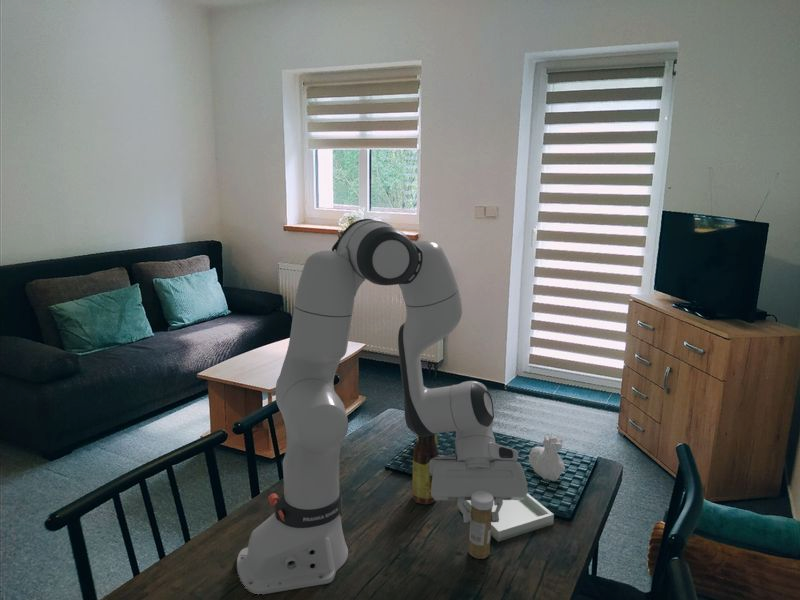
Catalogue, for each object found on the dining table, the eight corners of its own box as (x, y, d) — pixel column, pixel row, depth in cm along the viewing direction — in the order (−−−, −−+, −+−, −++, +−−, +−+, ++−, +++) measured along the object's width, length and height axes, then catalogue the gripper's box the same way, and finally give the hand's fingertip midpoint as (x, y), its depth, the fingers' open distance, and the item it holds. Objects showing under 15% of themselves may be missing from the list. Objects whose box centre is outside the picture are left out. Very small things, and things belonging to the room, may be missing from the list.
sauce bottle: (433, 508, 141) (435, 430, 136) (408, 502, 143) (409, 426, 138) (440, 493, 147) (443, 419, 142) (416, 488, 149) (418, 415, 144)
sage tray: (498, 541, 129) (498, 531, 128) (461, 505, 142) (462, 496, 141) (553, 524, 135) (553, 514, 135) (513, 491, 148) (514, 482, 148)
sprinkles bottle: (494, 554, 125) (498, 497, 121) (478, 562, 122) (482, 504, 119) (479, 542, 128) (482, 487, 125) (463, 550, 126) (466, 494, 122)
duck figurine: (562, 491, 152) (586, 454, 153) (545, 480, 149) (569, 442, 150) (532, 470, 163) (554, 435, 164) (515, 459, 159) (538, 423, 160)
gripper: (429, 450, 127) (432, 518, 120) (525, 451, 128) (533, 518, 120) (427, 459, 132) (429, 525, 125) (518, 459, 133) (526, 524, 126)
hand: (481, 521), depth 123 cm, fingers closed on sprinkles bottle, 4 cm apart
